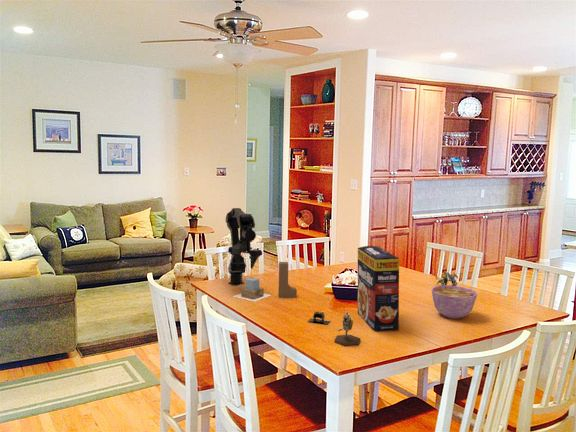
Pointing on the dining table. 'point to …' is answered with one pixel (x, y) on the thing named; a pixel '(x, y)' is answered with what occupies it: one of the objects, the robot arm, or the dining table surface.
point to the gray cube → (252, 284)
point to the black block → (319, 321)
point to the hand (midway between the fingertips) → (244, 267)
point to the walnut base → (252, 293)
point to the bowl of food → (453, 300)
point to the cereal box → (378, 288)
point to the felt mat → (251, 299)
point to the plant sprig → (448, 279)
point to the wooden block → (285, 283)
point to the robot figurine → (345, 339)
